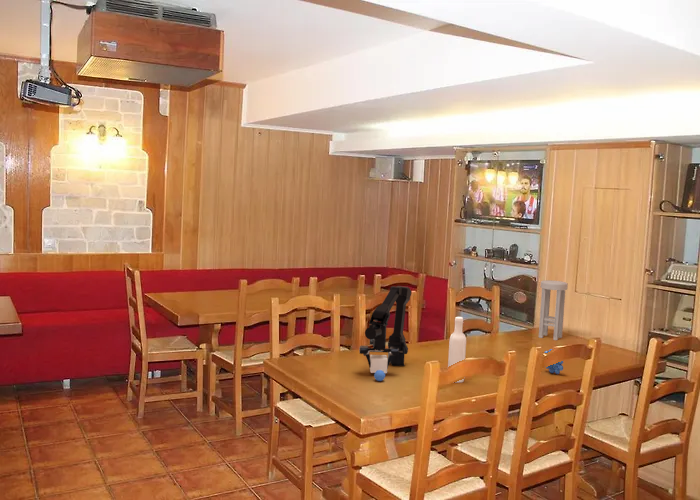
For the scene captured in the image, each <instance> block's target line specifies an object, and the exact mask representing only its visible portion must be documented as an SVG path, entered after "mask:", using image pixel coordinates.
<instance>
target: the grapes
mask: <svg viewBox="0 0 700 500" xmlns="http://www.w3.org/2000/svg"><path fill="white" fill-rule="evenodd" d="M551 350H553V349H552V348H550V349H548V350H545V351H544V352H543V354H544V353H548V352H550V351H551ZM563 364H564V360H563V361H561V362H558V363H556V364H553V365H550V366H548V367H546V368H545V369H548V372H549V373H551V374H556V375H559V374H560V372H562V371H563V370H564V366H563Z"/></svg>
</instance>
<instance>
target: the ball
mask: <svg viewBox="0 0 700 500" xmlns="http://www.w3.org/2000/svg"><path fill="white" fill-rule="evenodd" d="M373 377H374V379H375V380H376V381H378V382H382V381H384V380H385V378H386V373H384V372H383V371H382V370H377V371H376V372H375V373H373Z"/></svg>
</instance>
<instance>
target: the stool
mask: <svg viewBox="0 0 700 500" xmlns="http://www.w3.org/2000/svg"><path fill="white" fill-rule="evenodd" d="M568 286H569V285H568V283H567V282H566V281H561V280H549V279H548V280H545V279H544V280H541V281H540V288H541V297H540V312H539V327H538V328H539V329H538V338H540V339H543V338H544V336H545V337H546V336H548V335H549V334H548V333H549V332H548V331H549V327H553V341H558V340H559V339H561V338H563V329H564V315H565V314H564V313H565V302H566V301H565V299H566V291H568ZM551 290H552V291H556V295H555V296H556V297H555V309H554V310H555V311H554V316H550V306H551V305H550V303H551Z"/></svg>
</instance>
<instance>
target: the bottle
mask: <svg viewBox="0 0 700 500" xmlns="http://www.w3.org/2000/svg"><path fill="white" fill-rule="evenodd" d="M454 318H455V319H454V331H453V332H452V333H451V335H450V337H449V343H448V345H449V346H448V361H447V368H448V367H449V366H451V365H453V364H455V363H457V362H459V361H462V360H464V359H465V360H466V351H467V349H466V348H467V338H466V335H465V333H464V332H463V326H464V325H463V324H464V317H463V316H456V317H454ZM464 381H465V378H464V379H462V380H459V381H457V382H455V383H457V384H458V383H459V384H460V383H464Z"/></svg>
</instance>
